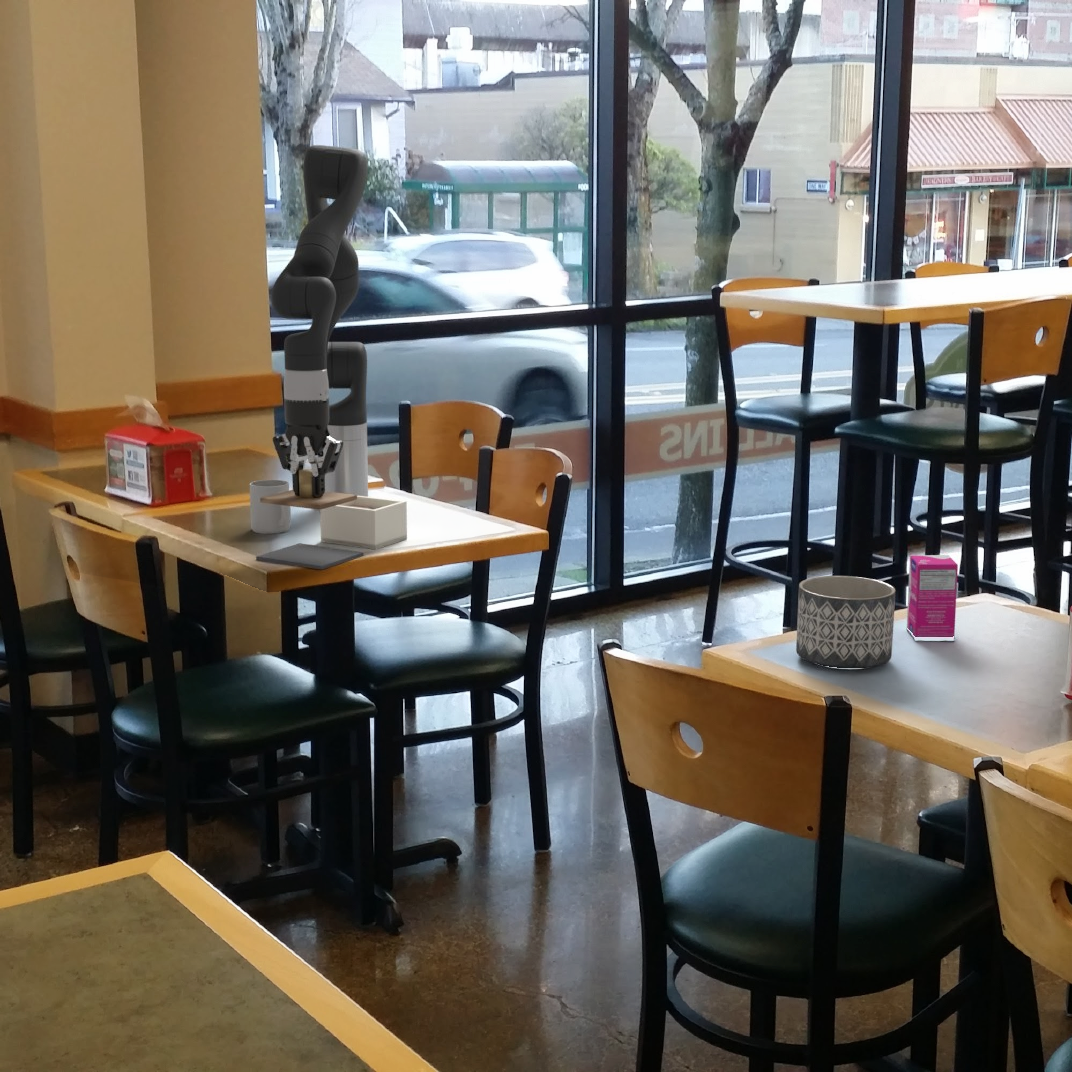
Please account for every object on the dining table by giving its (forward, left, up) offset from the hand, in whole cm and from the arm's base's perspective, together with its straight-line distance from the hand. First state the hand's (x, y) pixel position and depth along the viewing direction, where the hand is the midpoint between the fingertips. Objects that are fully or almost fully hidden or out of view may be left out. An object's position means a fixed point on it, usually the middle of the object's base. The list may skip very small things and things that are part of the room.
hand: (309, 495), depth 259 cm
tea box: (0, +16, -11) cm, 19 cm away
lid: (0, 0, -1) cm, 1 cm away
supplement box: (+106, +6, -11) cm, 107 cm away
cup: (-19, +14, -11) cm, 26 cm away
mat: (0, 0, -11) cm, 11 cm away
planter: (+99, -12, -11) cm, 100 cm away
